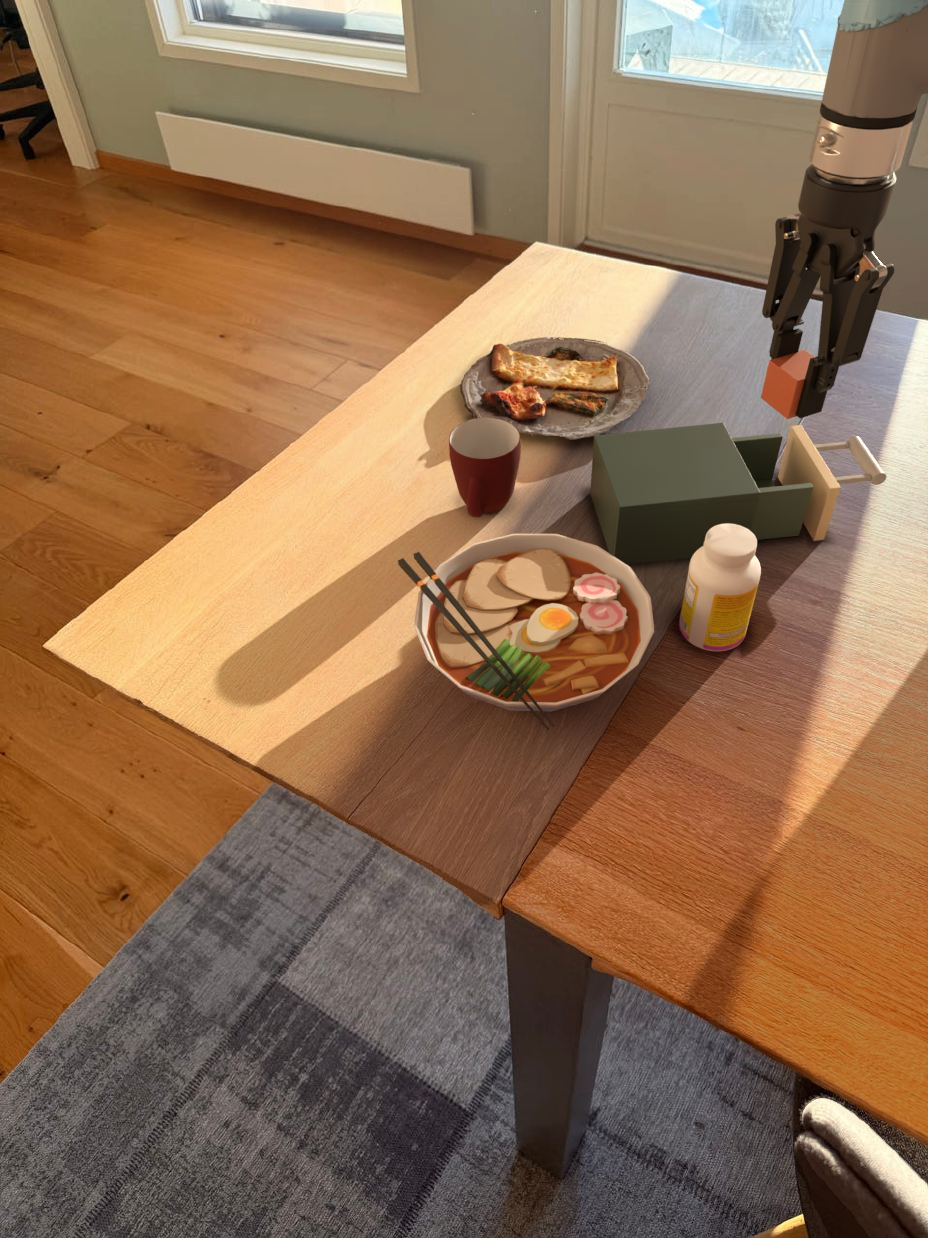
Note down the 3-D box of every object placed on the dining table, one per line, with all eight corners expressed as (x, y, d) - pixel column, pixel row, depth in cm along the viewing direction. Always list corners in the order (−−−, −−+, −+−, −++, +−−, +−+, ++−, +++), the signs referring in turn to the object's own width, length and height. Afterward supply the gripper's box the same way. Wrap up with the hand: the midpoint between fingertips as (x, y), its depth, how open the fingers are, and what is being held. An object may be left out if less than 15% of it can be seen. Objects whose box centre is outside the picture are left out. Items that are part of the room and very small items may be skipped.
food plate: (438, 431, 120) (437, 408, 117) (490, 342, 135) (490, 320, 132) (626, 460, 113) (629, 437, 111) (659, 364, 128) (661, 341, 126)
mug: (517, 544, 104) (516, 474, 96) (447, 542, 104) (441, 472, 97) (522, 486, 111) (522, 417, 103) (457, 485, 112) (452, 416, 104)
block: (822, 408, 95) (833, 369, 91) (787, 419, 93) (797, 381, 90) (795, 387, 97) (804, 349, 94) (760, 397, 96) (769, 359, 93)
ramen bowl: (702, 697, 87) (715, 640, 81) (499, 804, 80) (498, 750, 74) (557, 550, 103) (560, 493, 97) (376, 629, 95) (367, 572, 90)
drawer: (838, 471, 109) (855, 419, 103) (879, 534, 101) (899, 481, 95) (675, 488, 108) (683, 436, 102) (703, 553, 100) (713, 500, 94)
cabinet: (710, 487, 109) (723, 422, 102) (744, 558, 100) (760, 492, 94) (589, 499, 108) (594, 435, 102) (612, 572, 100) (619, 507, 93)
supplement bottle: (757, 632, 93) (783, 538, 83) (719, 668, 90) (742, 574, 80) (702, 601, 96) (722, 506, 87) (664, 634, 93) (680, 540, 84)
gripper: (753, 144, 83) (713, 370, 100) (890, 213, 72) (818, 455, 89) (819, 129, 85) (769, 353, 102) (963, 194, 74) (879, 434, 91)
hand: (792, 400), depth 95 cm, fingers closed on block, 4 cm apart
